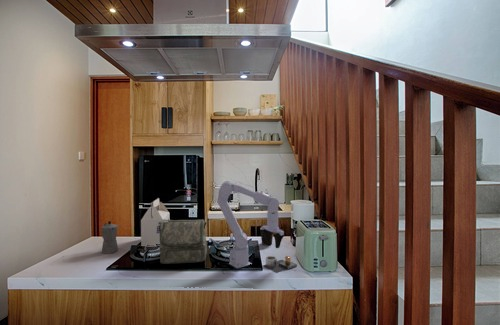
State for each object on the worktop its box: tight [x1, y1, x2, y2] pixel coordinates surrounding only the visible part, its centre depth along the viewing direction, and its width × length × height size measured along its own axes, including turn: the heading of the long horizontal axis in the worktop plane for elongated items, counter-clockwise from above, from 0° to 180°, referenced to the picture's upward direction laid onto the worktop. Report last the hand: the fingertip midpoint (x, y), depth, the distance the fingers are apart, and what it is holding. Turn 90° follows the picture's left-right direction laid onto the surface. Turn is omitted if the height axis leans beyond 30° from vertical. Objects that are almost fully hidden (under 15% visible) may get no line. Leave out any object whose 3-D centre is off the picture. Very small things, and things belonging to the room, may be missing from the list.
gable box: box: [140, 197, 171, 246], centre depth 184 cm, size 22×13×28 cm, turn 6°
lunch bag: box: [157, 219, 208, 265], centre depth 155 cm, size 26×18×22 cm
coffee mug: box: [259, 226, 274, 246], centre depth 182 cm, size 12×9×10 cm
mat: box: [262, 259, 288, 274], centre depth 143 cm, size 14×11×1 cm
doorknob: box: [279, 255, 298, 270], centre depth 144 cm, size 6×6×5 cm
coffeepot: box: [100, 220, 119, 255], centre depth 167 cm, size 15×9×18 cm, turn 44°
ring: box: [265, 255, 278, 267], centre depth 145 cm, size 6×6×4 cm
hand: (272, 245), depth 147 cm, fingers open, 7 cm apart
